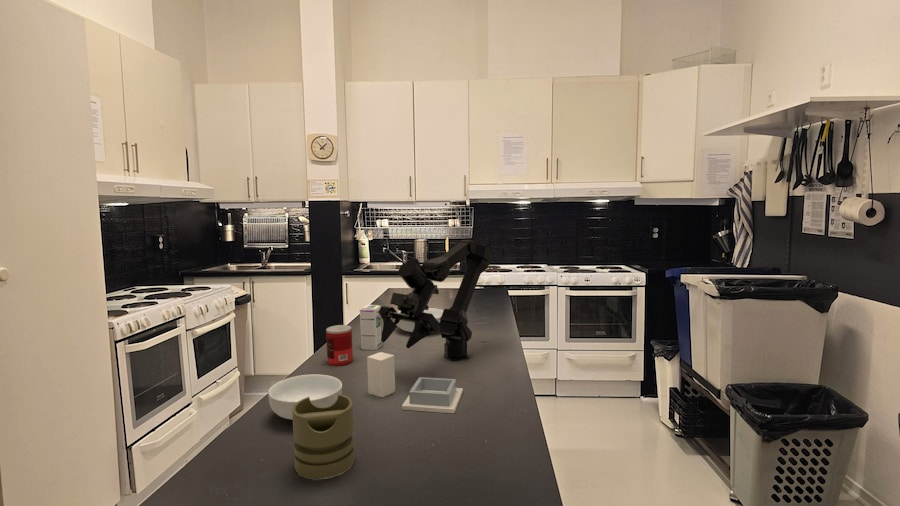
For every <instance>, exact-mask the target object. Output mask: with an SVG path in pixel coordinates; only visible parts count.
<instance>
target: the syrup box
mask: <svg viewBox="0 0 900 506" xmlns="http://www.w3.org/2000/svg"><path fill="white" fill-rule="evenodd" d="M381 307H382V306H381V305H379V304H365V305H364V306H363V307H361V308H359V325H360V341H361V342H360V345H361V346H360V347H361V350H366V351H378V349H379V348H381V347H382V346H383V345H384V343H383V342H381V337H382V331H383V324H382V322H383V320H382V318H381V317H380V314H379V313H378V311H379V310H380V308H381Z"/></svg>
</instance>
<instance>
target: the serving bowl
mask: <svg viewBox="0 0 900 506" xmlns="http://www.w3.org/2000/svg"><path fill="white" fill-rule="evenodd" d="M443 310H444V309H441V308H435V307H434V308H433V307H429V309H428V310H424V313H430V314H433V316H434V317H435V318H436V319H437V321H438V322H440V318H441V316H442V313H443ZM396 311H397V312H398V313H401V311H400V310H396ZM396 325H397V328H399V329H401V330H403V331H405V332H409V333H412V332H413V330H414V327H415V323H413V322H408V321H403V320H400V321H399V323H398V324H396Z"/></svg>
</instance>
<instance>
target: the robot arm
mask: <svg viewBox="0 0 900 506" xmlns="http://www.w3.org/2000/svg"><path fill="white" fill-rule="evenodd" d="M493 258H494V257H493V252H492V251H491V249H490V248H489V247H485V246H484V245H481V244H479V243H477V242H476V241H473V240H469V239H467V240H466V239H462V240H459V241H458V243H457V244H456V245H454V246H452V248H450V249H449V250H448V251H446V252H445V253H444V254H442V255H441V256H438V257H435V258H434V257H433V258H430V259H429V260H426V261H424V262H423V263H422V265H421V263H420V261H419V259H418V258H412V257H411V259H409V261H406V262H404V263H403V264H402V265H400V267H399V268H398V272H397V273H398V275H399V277H400V278H401V279H402V280H403V281H404V283H405V284H406V285H407V286H408V287H409V288H410V289H412V291H411V292H408V294H407V293H398V292H392V294H391V298H390V305H395V306H397V307H396V309H397V310H396V309H395V307H393V306H388V305H383V306H381V308H380V310H379V311H378V313H379V314H380V317H381V320H382V322H383V324H382V337H381V342H382V343H383V344H385V342H386V341H387V340H388V339H389V338H390V336H391V335H392V334H393V333H394V331H396V329H397V328H398V326H397V325H396V324H398V323H399V321H400V320H403V321H408V322H413V323H415V327H414V330H413V332H411V334H410V336H409V338H408V340H407V342H406V345H405V347H406V348H407V349H410V348H411V347H413V346H414V345H415V344H417V343H419V342H420V341H421V340H423V339H424V338H426V337H427V336H429V335H433V333H438V331H439V332H440V336H441V339H445V343H443V344H444V347H443V350H444V353H443V356H444V357H445V358H447V359H448V360H450V361H452V362H453V361H460V360H466V359H470V355H468V342H469V341H470V340H471V339H472V336H473V335H472V334H473V332H472V330H471V329H470V328H469V327H468V326H469V325H468V323H469V320H468V315H467V311H468V308H469V307H470V304H471V300H472V298H473V295H474V293H475V289H476V287H477V285H478V281H479V279H480V276H481V275H482V274H483V272H485V271H486V270H487V269H488V268H489V267H490V264H491V262H492V261H493ZM462 260H464V261H465V265H466V270H465V271H464V273H463V277H462V280H461V282H460V284H459V287H458V290H457V293H456V295H455V298H454V300H453V302H452V305H451V306H450V307H449V308H444V309H442V310H443V313H442V316H441V318H440V322H438V321H437V319H436V318H435V317H434V316H433V314H430V313H424V310H428V309H429V308H430V307H429V306H428V304H429V302H430V301H431V298H432V296H433V295H439V294H440V292H439V289H438V288H439V287H438V284H434V282H438V283H439V282H440V283H442V282H445V280H446V279H447V278H448V277H449V275H450V274H451V269H452V268H454V267H455V266H457V264H458V263H461V261H462ZM397 311H401V313H398V312H397Z"/></svg>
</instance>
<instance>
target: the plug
mask: <svg viewBox="0 0 900 506" xmlns="http://www.w3.org/2000/svg"><path fill="white" fill-rule="evenodd" d="M366 361H367V362H366V364H367V367H366V368H367V391H368V393H367V394H369V393H370V394H369V395H372V394H374V395H373V396H375V395H377V396H376V397H378V396H379V397H378V398H381V397H383V398H384V396H385V397H387V396H389V395H391V394H393V393H395V392H396V380H395V379H396V378H395V374H396V373H395V371H396V370H395V355H394V354H390V353H386V352H382V351H380V352H377V353H374V354H371V355H368V356H367V357H366ZM386 395H387V396H386Z"/></svg>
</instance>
